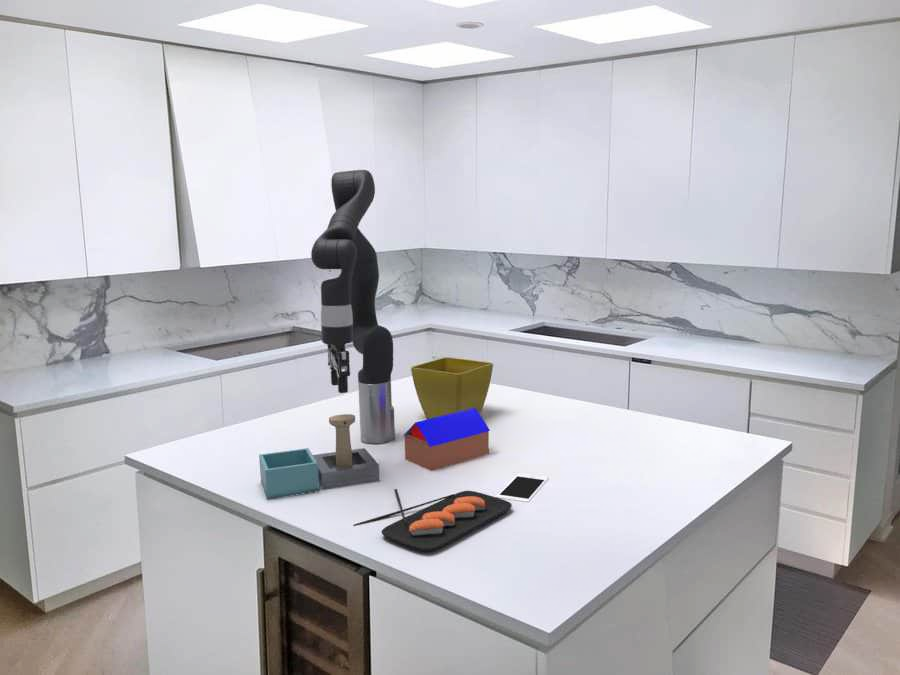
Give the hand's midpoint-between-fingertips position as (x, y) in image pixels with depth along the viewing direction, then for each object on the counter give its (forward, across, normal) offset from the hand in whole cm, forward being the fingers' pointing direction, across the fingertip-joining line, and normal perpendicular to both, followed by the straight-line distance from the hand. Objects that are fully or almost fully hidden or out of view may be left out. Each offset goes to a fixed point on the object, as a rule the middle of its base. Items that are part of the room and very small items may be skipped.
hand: (339, 388), depth 184 cm
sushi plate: (+23, -30, -11) cm, 39 cm away
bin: (+22, -2, +14) cm, 26 cm away
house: (+22, +3, -29) cm, 37 cm away
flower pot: (+22, +37, -43) cm, 61 cm away
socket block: (+22, 0, 0) cm, 22 cm away
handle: (+22, 0, 0) cm, 22 cm away
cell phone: (+22, -25, -38) cm, 50 cm away
